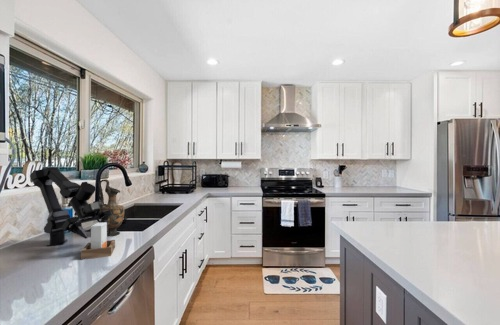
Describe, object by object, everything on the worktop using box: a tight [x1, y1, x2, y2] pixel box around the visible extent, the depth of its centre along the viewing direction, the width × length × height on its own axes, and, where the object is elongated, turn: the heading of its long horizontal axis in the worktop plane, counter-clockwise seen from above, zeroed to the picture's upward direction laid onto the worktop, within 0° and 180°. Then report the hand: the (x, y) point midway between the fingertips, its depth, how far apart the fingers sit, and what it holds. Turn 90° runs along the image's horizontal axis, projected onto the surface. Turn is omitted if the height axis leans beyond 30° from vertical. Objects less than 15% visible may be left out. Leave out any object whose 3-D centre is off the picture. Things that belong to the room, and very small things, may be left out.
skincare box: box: [90, 222, 108, 249], centre depth 104 cm, size 6×4×12 cm
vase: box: [97, 179, 125, 237], centre depth 131 cm, size 12×12×30 cm
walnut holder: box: [80, 239, 116, 261], centre depth 104 cm, size 11×11×4 cm
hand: (97, 234), depth 105 cm, fingers open, 9 cm apart
